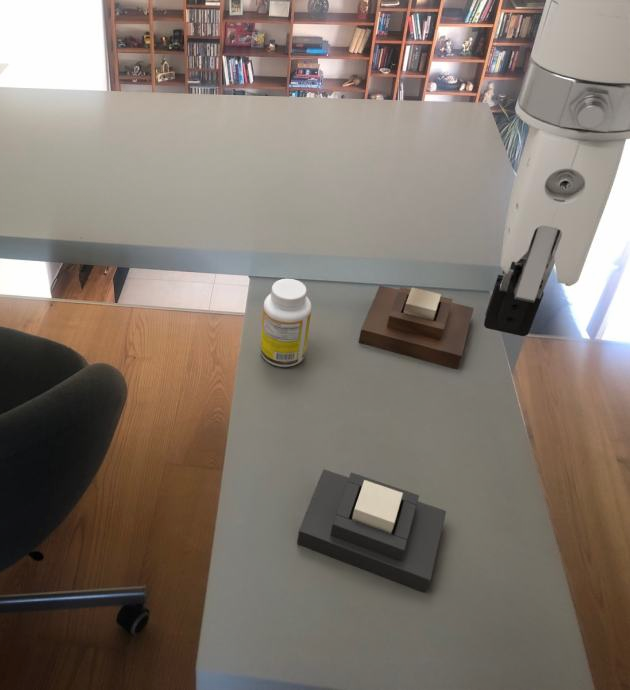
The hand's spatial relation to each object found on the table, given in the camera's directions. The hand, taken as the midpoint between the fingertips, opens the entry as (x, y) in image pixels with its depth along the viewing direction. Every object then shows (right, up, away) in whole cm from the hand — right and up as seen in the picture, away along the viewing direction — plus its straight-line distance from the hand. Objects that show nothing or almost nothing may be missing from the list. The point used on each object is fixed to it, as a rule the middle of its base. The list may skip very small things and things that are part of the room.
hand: (505, 325), depth 54 cm
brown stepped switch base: (+5, 0, +35) cm, 35 cm away
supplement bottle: (-12, -3, +32) cm, 35 cm away
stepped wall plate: (-7, -20, +13) cm, 24 cm away
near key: (-7, -17, +10) cm, 21 cm away
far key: (+5, +3, +32) cm, 33 cm away
